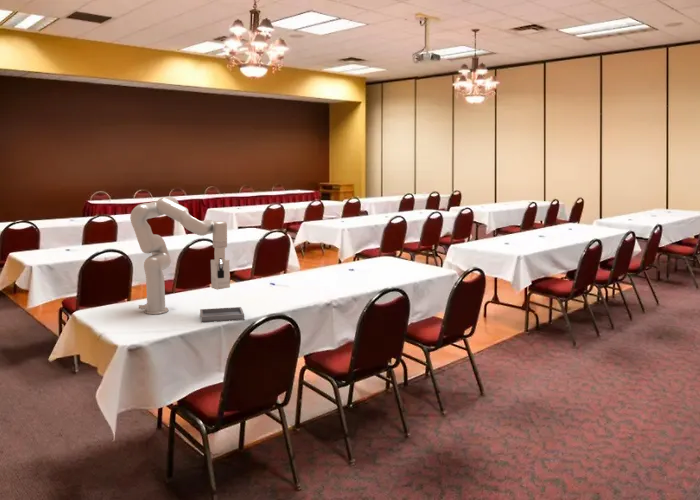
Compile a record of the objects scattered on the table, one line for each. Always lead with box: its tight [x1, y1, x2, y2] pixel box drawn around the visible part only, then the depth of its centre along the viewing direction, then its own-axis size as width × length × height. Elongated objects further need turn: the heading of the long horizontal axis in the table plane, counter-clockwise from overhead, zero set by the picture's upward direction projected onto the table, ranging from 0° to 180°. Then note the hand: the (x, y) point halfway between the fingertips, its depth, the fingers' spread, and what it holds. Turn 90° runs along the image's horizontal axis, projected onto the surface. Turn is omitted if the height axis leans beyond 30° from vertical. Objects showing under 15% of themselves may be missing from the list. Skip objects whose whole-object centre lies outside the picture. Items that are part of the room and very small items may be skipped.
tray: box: [199, 306, 245, 323], centre depth 330 cm, size 22×16×3 cm
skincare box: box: [210, 258, 231, 291], centre depth 330 cm, size 8×7×16 cm
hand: (220, 276), depth 330 cm, fingers closed on skincare box, 8 cm apart
